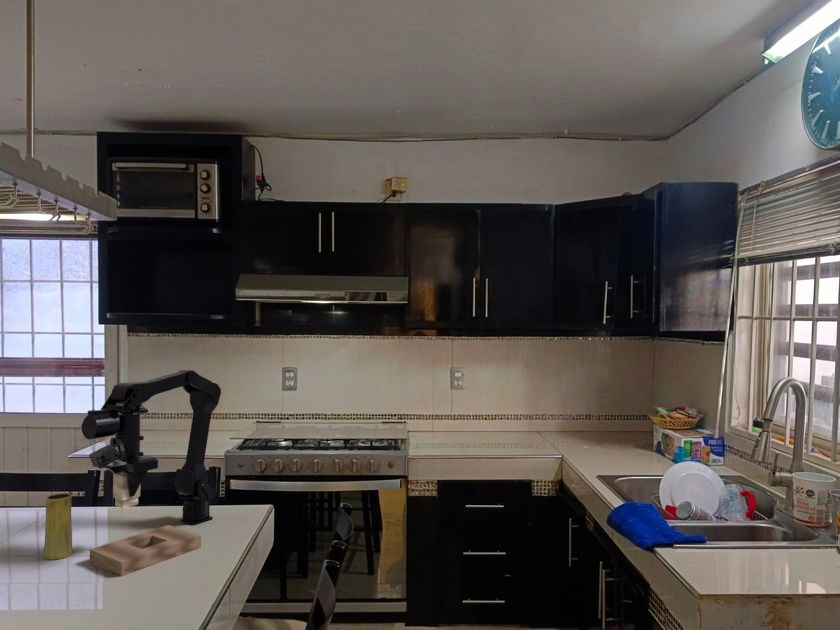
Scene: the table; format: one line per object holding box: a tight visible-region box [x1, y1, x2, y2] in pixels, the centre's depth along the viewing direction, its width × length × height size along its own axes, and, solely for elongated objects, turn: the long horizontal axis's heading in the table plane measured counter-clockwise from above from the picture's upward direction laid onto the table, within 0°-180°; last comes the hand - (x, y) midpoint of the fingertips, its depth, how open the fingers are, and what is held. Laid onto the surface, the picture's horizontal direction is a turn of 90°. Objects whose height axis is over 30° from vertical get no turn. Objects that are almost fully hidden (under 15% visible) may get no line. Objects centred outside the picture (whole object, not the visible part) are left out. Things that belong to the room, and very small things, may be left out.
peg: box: [112, 472, 141, 509], centre depth 142 cm, size 4×4×8 cm
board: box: [89, 524, 202, 577], centre depth 137 cm, size 20×14×3 cm
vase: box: [42, 492, 74, 561], centre depth 137 cm, size 6×6×14 cm
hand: (126, 494), depth 142 cm, fingers closed on peg, 4 cm apart
